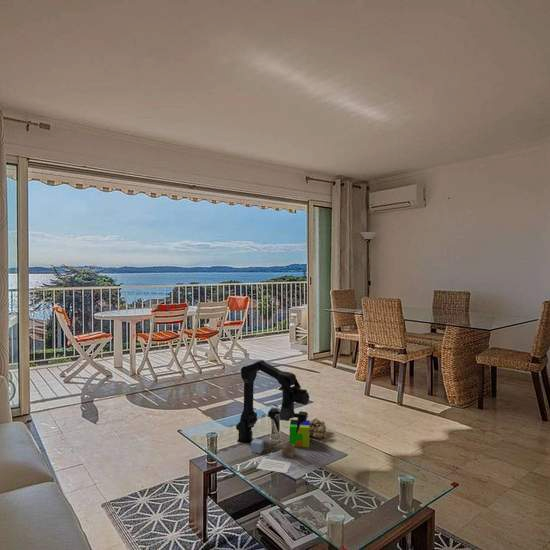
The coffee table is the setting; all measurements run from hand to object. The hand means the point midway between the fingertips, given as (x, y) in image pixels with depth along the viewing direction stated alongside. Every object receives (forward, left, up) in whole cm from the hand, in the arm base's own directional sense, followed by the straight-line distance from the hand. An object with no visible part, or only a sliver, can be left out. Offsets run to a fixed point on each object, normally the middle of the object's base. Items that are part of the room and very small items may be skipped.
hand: (287, 432), depth 196 cm
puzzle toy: (+3, +16, -12) cm, 20 cm away
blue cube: (-15, 0, -11) cm, 19 cm away
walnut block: (+1, 0, -11) cm, 11 cm away
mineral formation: (+10, +28, -12) cm, 32 cm away
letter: (-3, -12, -11) cm, 17 cm away
